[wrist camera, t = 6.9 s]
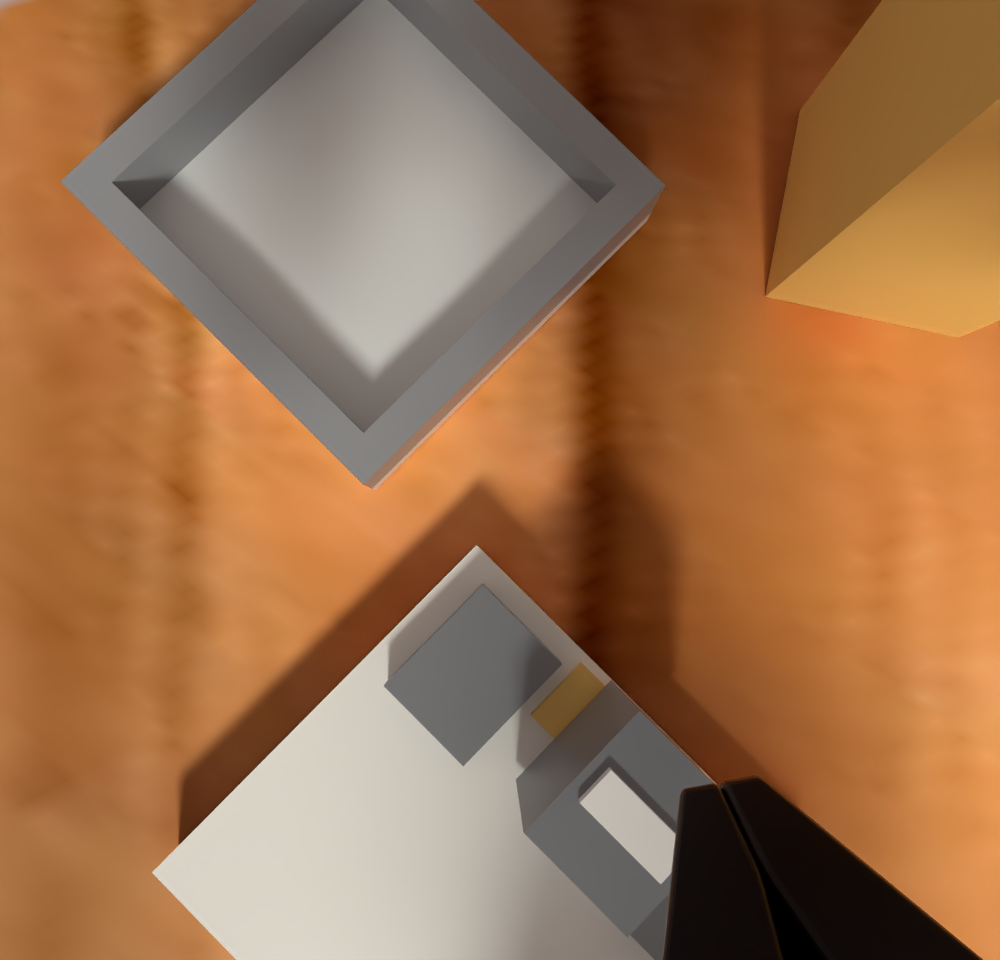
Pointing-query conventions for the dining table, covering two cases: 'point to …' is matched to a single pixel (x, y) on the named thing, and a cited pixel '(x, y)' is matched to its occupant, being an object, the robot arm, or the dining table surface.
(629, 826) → the breaker toggle
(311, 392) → the tray
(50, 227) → the dining table surface
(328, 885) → the light grey flat piece
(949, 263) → the tan tall block
